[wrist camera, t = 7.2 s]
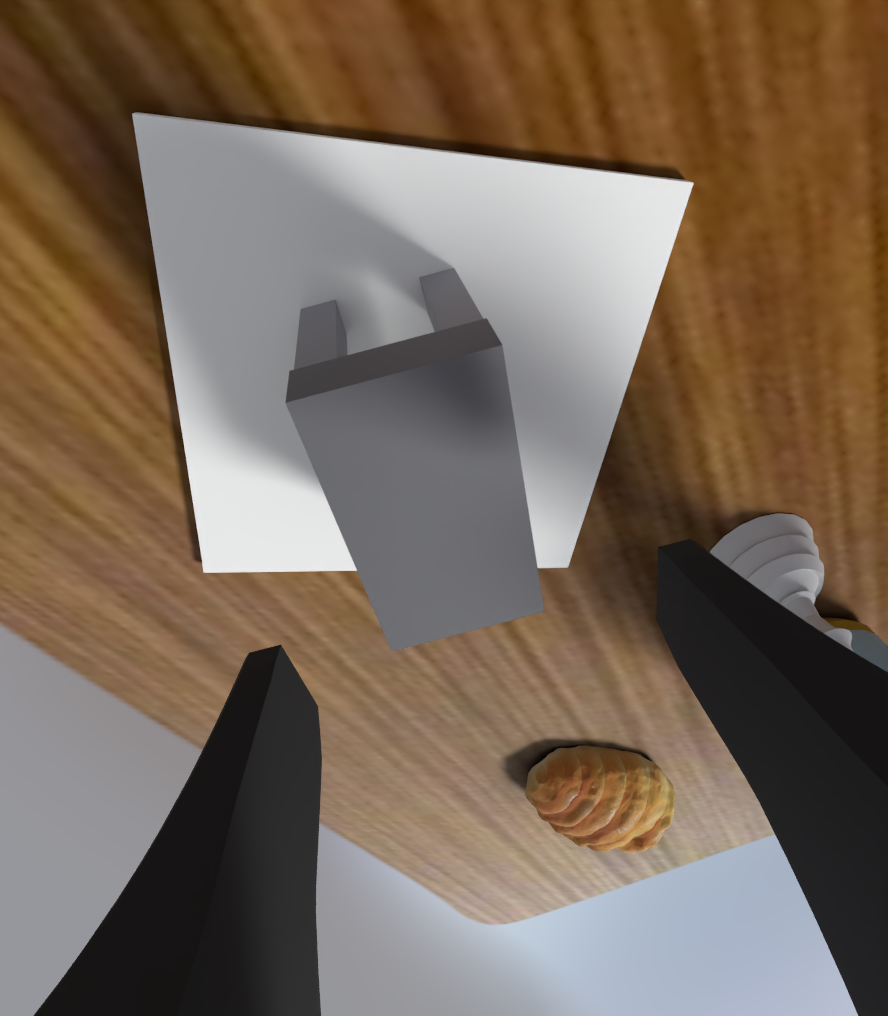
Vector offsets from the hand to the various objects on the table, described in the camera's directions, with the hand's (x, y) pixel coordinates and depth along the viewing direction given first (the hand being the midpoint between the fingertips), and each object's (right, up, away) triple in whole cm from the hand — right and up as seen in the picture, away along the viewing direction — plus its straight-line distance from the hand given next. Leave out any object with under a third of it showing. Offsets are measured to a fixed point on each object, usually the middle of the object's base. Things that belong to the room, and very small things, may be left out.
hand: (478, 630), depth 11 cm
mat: (-2, +6, +8) cm, 10 cm away
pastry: (+8, -14, +25) cm, 30 cm away
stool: (-2, +6, +8) cm, 10 cm away
